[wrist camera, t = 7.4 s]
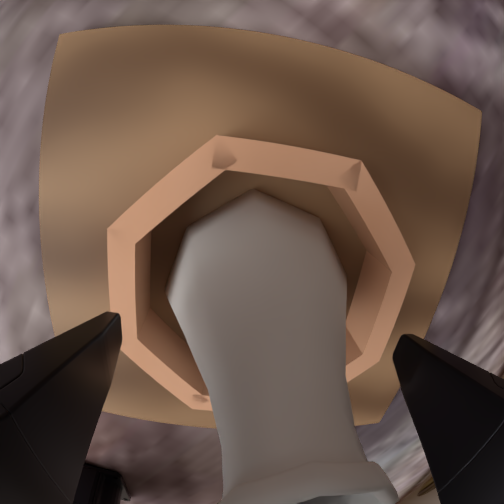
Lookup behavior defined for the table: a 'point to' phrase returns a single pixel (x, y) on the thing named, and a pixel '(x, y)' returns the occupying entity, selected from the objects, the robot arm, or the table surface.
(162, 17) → the table surface
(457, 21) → the table surface
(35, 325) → the table surface
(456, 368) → the robot arm
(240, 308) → the flask
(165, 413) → the board
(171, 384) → the ring
